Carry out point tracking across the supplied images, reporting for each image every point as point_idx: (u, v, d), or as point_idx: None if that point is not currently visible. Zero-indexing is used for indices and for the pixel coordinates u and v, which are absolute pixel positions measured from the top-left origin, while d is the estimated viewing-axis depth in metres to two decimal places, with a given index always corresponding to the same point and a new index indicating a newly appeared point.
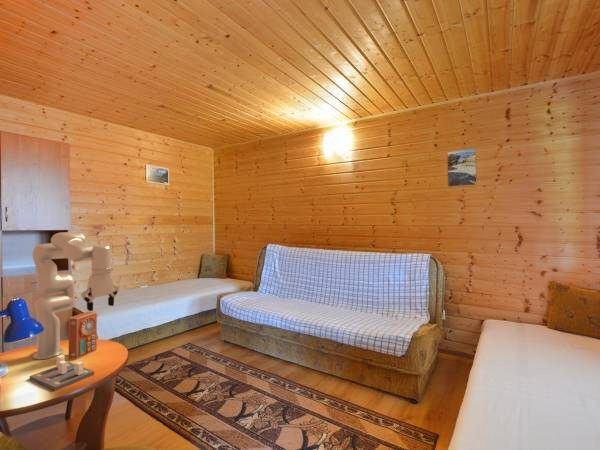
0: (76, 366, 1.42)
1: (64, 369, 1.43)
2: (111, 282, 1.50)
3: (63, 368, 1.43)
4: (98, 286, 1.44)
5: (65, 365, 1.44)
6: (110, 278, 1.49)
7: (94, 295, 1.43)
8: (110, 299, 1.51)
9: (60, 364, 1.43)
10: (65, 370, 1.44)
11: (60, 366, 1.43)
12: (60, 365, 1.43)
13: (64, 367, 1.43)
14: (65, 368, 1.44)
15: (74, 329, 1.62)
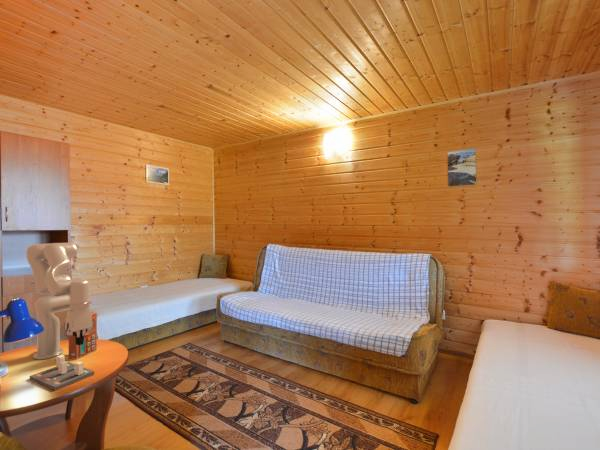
0: (76, 366, 1.42)
1: (64, 369, 1.43)
2: (90, 316, 1.52)
3: (63, 368, 1.43)
4: (76, 321, 1.47)
5: (65, 365, 1.44)
6: (88, 312, 1.52)
7: (72, 330, 1.45)
8: None
9: (60, 364, 1.43)
10: (65, 370, 1.44)
11: (60, 366, 1.43)
12: (60, 365, 1.43)
13: (64, 367, 1.43)
14: (65, 368, 1.44)
15: None
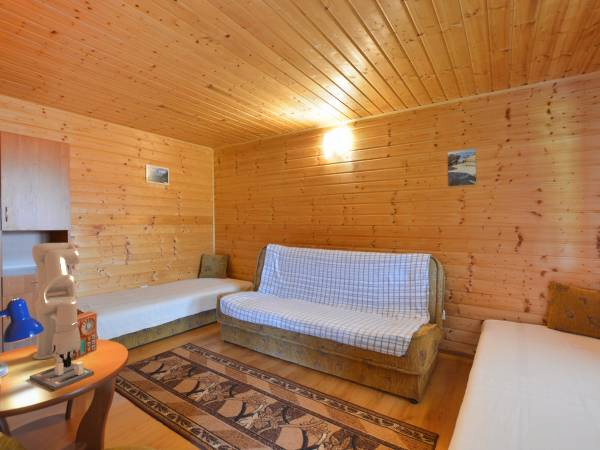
0: (76, 366, 1.42)
1: (61, 370, 1.42)
2: (78, 337, 1.48)
3: (59, 369, 1.41)
4: (64, 343, 1.42)
5: (62, 366, 1.42)
6: (77, 333, 1.47)
7: (59, 353, 1.41)
8: None
9: (57, 365, 1.42)
10: (62, 371, 1.42)
11: (57, 367, 1.41)
12: (56, 366, 1.42)
13: (61, 368, 1.42)
14: (62, 369, 1.42)
15: None
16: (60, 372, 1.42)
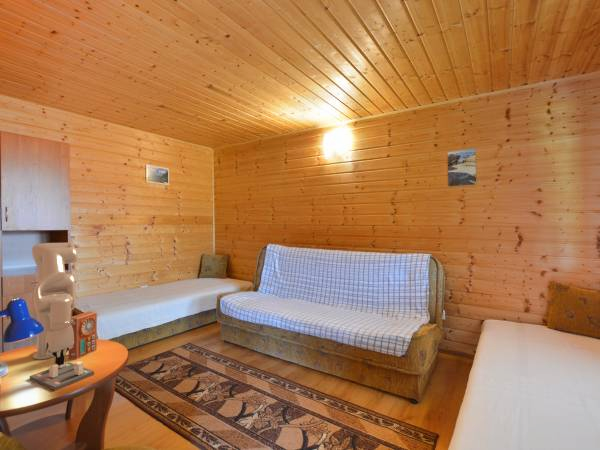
0: (76, 366, 1.42)
1: (55, 372, 1.40)
2: (71, 335, 1.45)
3: (54, 371, 1.39)
4: (57, 341, 1.40)
5: (56, 368, 1.40)
6: (70, 331, 1.45)
7: (52, 351, 1.39)
8: None
9: (51, 367, 1.40)
10: (56, 373, 1.40)
11: (51, 369, 1.40)
12: (51, 368, 1.40)
13: (55, 370, 1.40)
14: (56, 371, 1.40)
15: (74, 329, 1.62)
16: (55, 374, 1.40)
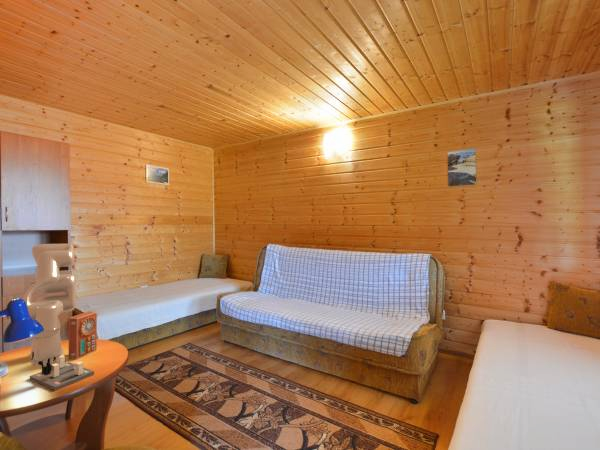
0: (76, 366, 1.42)
1: (56, 372, 1.40)
2: (58, 343, 1.40)
3: (55, 371, 1.40)
4: (43, 350, 1.35)
5: (57, 368, 1.41)
6: (57, 339, 1.40)
7: (37, 360, 1.33)
8: None
9: (52, 367, 1.40)
10: (57, 373, 1.41)
11: (52, 369, 1.40)
12: (52, 367, 1.40)
13: (56, 370, 1.40)
14: (57, 371, 1.41)
15: (74, 329, 1.62)
16: (56, 374, 1.40)
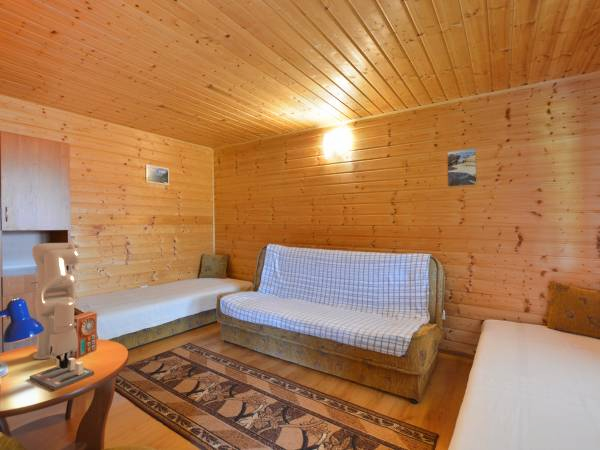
0: (76, 366, 1.42)
1: (73, 366, 1.47)
2: (75, 338, 1.47)
3: (72, 364, 1.46)
4: (60, 344, 1.41)
5: (74, 362, 1.47)
6: (74, 334, 1.46)
7: (56, 354, 1.40)
8: None
9: (69, 361, 1.46)
10: (74, 367, 1.47)
11: (69, 362, 1.46)
12: (69, 361, 1.46)
13: (73, 364, 1.47)
14: (74, 365, 1.47)
15: None
16: (72, 367, 1.46)
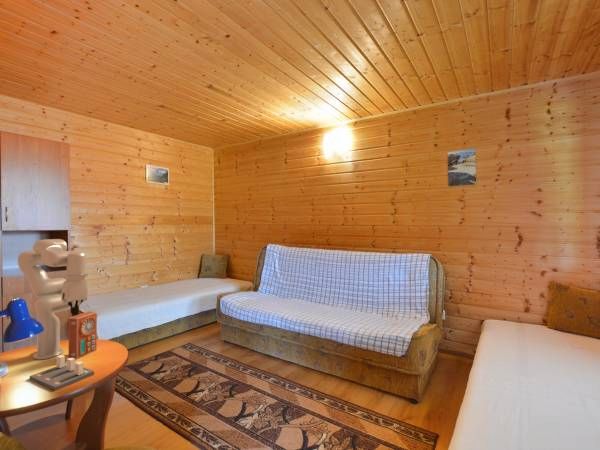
0: (76, 366, 1.42)
1: (72, 366, 1.46)
2: (85, 288, 1.57)
3: (71, 365, 1.46)
4: (72, 292, 1.51)
5: (73, 362, 1.47)
6: (84, 284, 1.56)
7: (67, 300, 1.50)
8: None
9: (69, 361, 1.46)
10: (73, 367, 1.47)
11: (69, 363, 1.46)
12: (69, 361, 1.46)
13: (72, 364, 1.46)
14: (73, 365, 1.47)
15: (74, 329, 1.62)
16: (72, 367, 1.46)
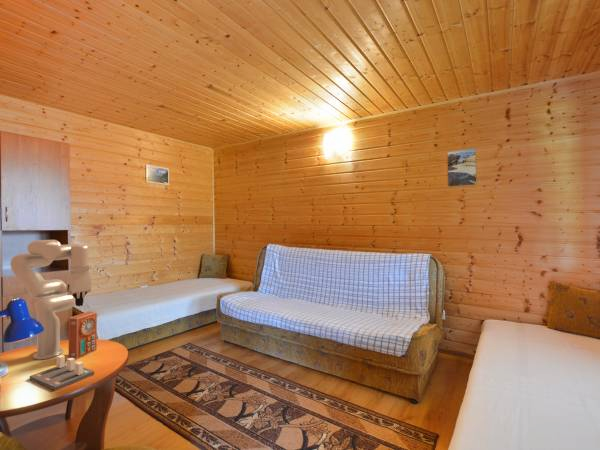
0: (76, 366, 1.42)
1: (72, 366, 1.46)
2: (89, 279, 1.61)
3: (71, 365, 1.46)
4: (76, 283, 1.55)
5: (73, 362, 1.47)
6: (88, 275, 1.60)
7: (72, 291, 1.54)
8: None
9: (69, 361, 1.46)
10: (73, 367, 1.47)
11: (69, 363, 1.46)
12: (69, 361, 1.46)
13: (72, 364, 1.46)
14: (73, 365, 1.47)
15: (74, 329, 1.62)
16: (72, 367, 1.46)
